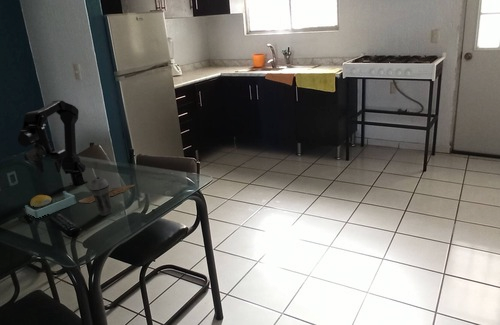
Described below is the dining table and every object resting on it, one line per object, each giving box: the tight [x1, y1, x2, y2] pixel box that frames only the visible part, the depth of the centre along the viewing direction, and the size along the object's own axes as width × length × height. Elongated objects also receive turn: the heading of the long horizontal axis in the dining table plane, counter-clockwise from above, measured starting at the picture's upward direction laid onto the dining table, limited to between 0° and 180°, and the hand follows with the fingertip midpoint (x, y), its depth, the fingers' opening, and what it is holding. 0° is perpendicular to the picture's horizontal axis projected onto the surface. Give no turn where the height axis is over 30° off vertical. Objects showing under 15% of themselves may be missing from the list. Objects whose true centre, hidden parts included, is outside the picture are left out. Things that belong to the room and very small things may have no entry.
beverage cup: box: [89, 167, 112, 217], centre depth 164 cm, size 7×7×20 cm
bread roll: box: [29, 194, 52, 208], centre depth 186 cm, size 8×9×4 cm
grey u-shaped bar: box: [24, 190, 78, 219], centre depth 178 cm, size 10×18×4 cm, turn 138°
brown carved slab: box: [77, 184, 135, 204], centre depth 188 cm, size 26×11×1 cm, turn 121°
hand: (50, 172), depth 186 cm, fingers open, 9 cm apart
